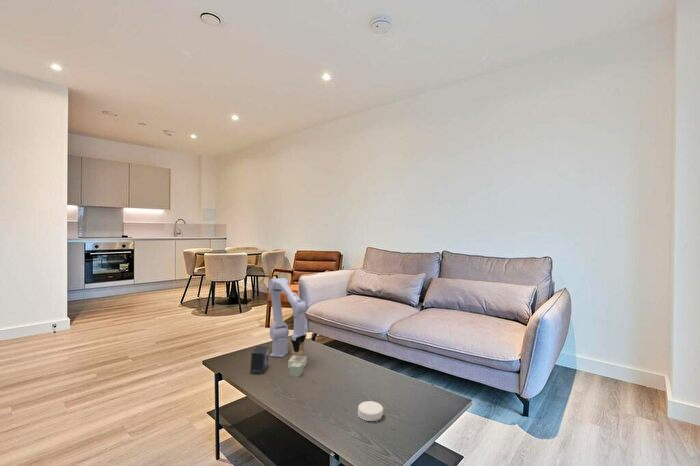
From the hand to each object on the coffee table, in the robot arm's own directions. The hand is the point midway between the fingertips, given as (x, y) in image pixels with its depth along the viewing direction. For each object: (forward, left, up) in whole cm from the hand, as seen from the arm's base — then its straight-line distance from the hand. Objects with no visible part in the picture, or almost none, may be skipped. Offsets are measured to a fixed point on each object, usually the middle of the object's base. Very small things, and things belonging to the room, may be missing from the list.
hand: (298, 349), depth 176 cm
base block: (0, 0, -9) cm, 9 cm away
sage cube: (+10, +3, -8) cm, 14 cm away
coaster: (+36, +45, -9) cm, 59 cm away
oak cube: (0, 0, -2) cm, 2 cm away
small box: (+11, -17, -9) cm, 22 cm away
